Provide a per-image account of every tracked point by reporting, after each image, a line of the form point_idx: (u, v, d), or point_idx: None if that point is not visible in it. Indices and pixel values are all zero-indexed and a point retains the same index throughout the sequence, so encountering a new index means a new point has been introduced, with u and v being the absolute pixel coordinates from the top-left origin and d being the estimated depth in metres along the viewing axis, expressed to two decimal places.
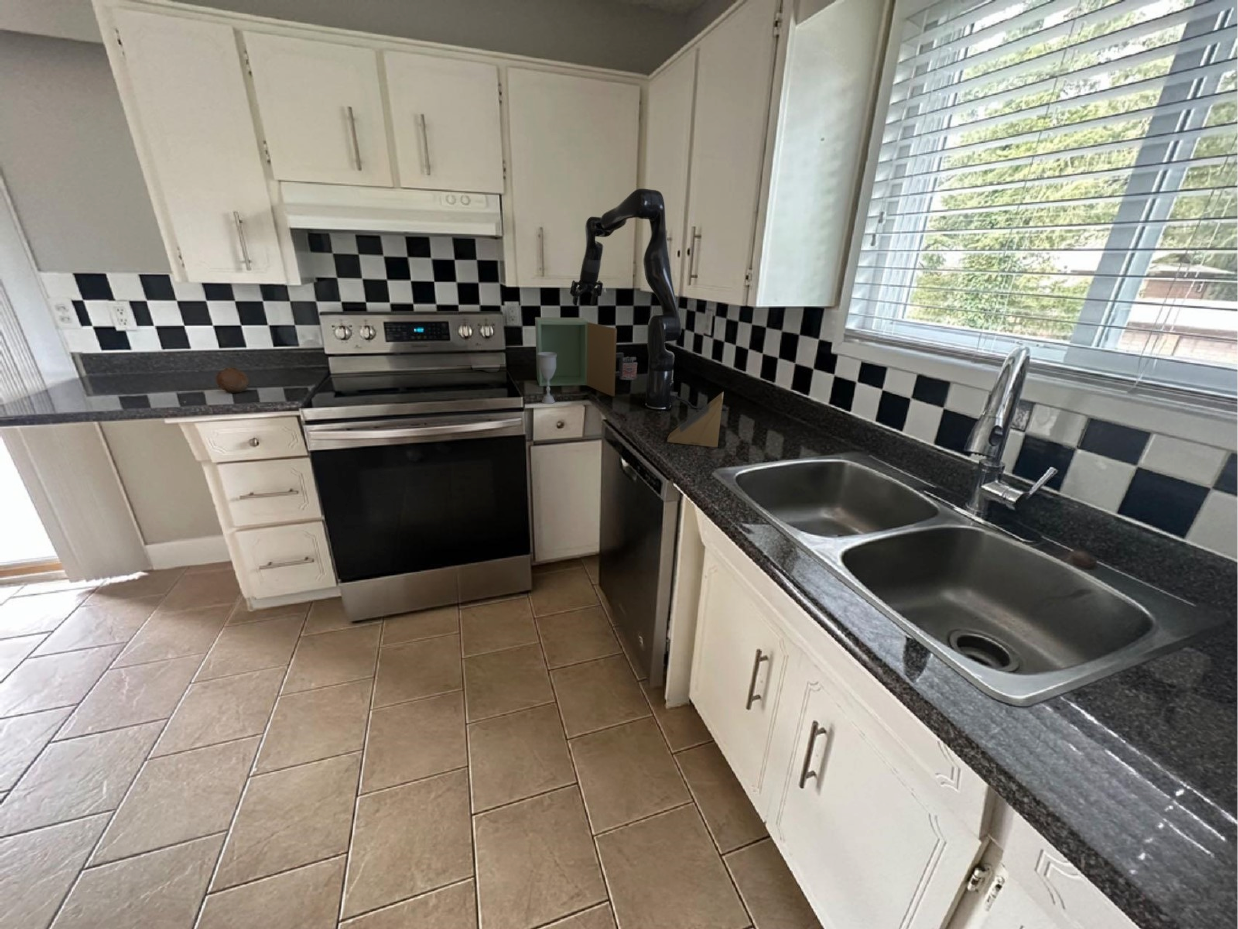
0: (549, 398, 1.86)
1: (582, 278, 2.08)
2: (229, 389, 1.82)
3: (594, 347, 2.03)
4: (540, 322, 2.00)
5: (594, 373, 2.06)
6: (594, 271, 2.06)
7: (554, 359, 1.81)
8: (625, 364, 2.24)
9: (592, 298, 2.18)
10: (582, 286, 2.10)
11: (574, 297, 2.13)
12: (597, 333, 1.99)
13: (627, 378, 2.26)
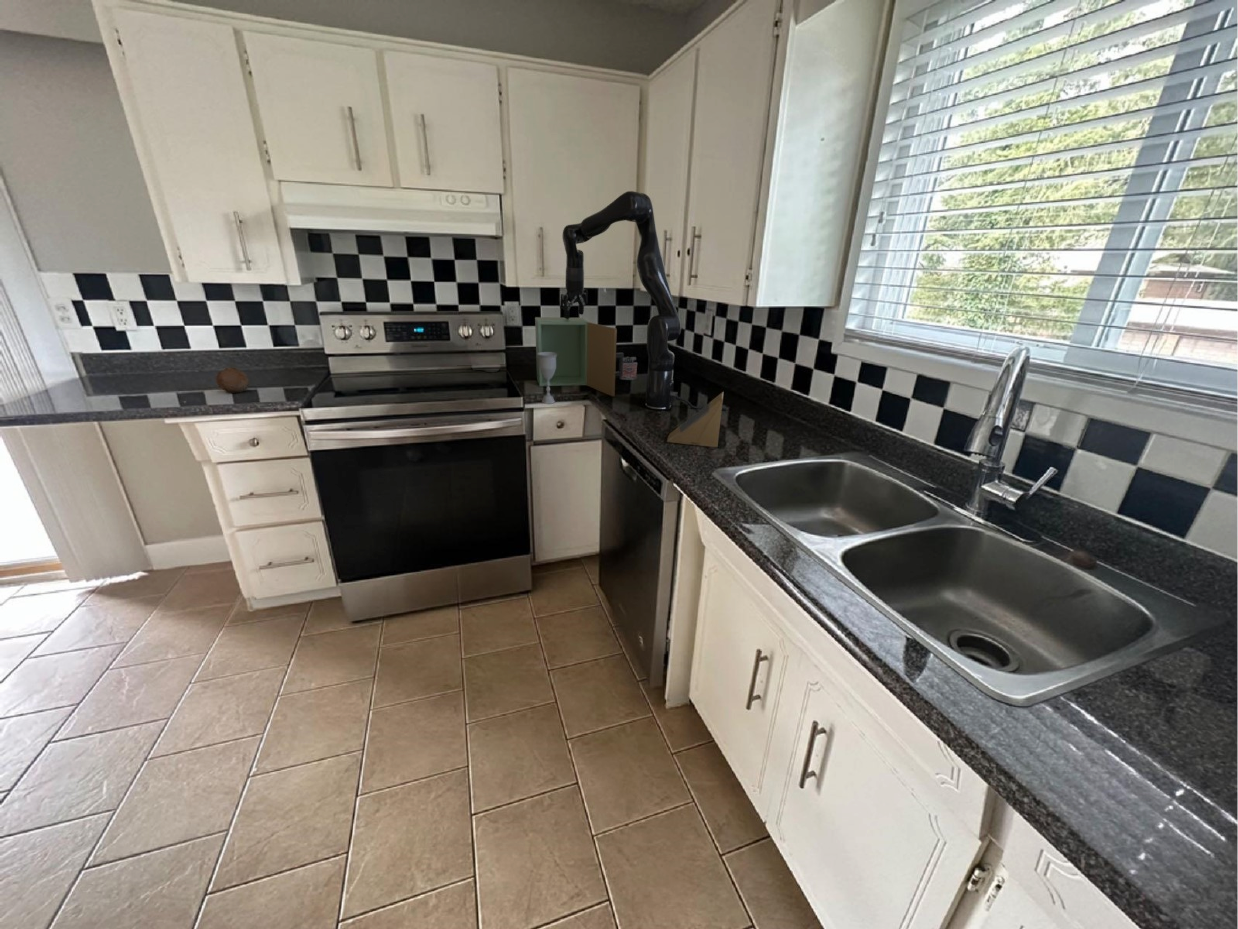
0: (549, 398, 1.86)
1: (570, 289, 2.04)
2: (229, 389, 1.82)
3: (594, 347, 2.03)
4: (540, 322, 2.00)
5: (594, 373, 2.06)
6: (581, 279, 2.02)
7: (554, 359, 1.81)
8: (625, 364, 2.24)
9: (580, 307, 2.14)
10: (571, 297, 2.06)
11: (565, 310, 2.08)
12: (597, 333, 1.99)
13: (627, 378, 2.26)
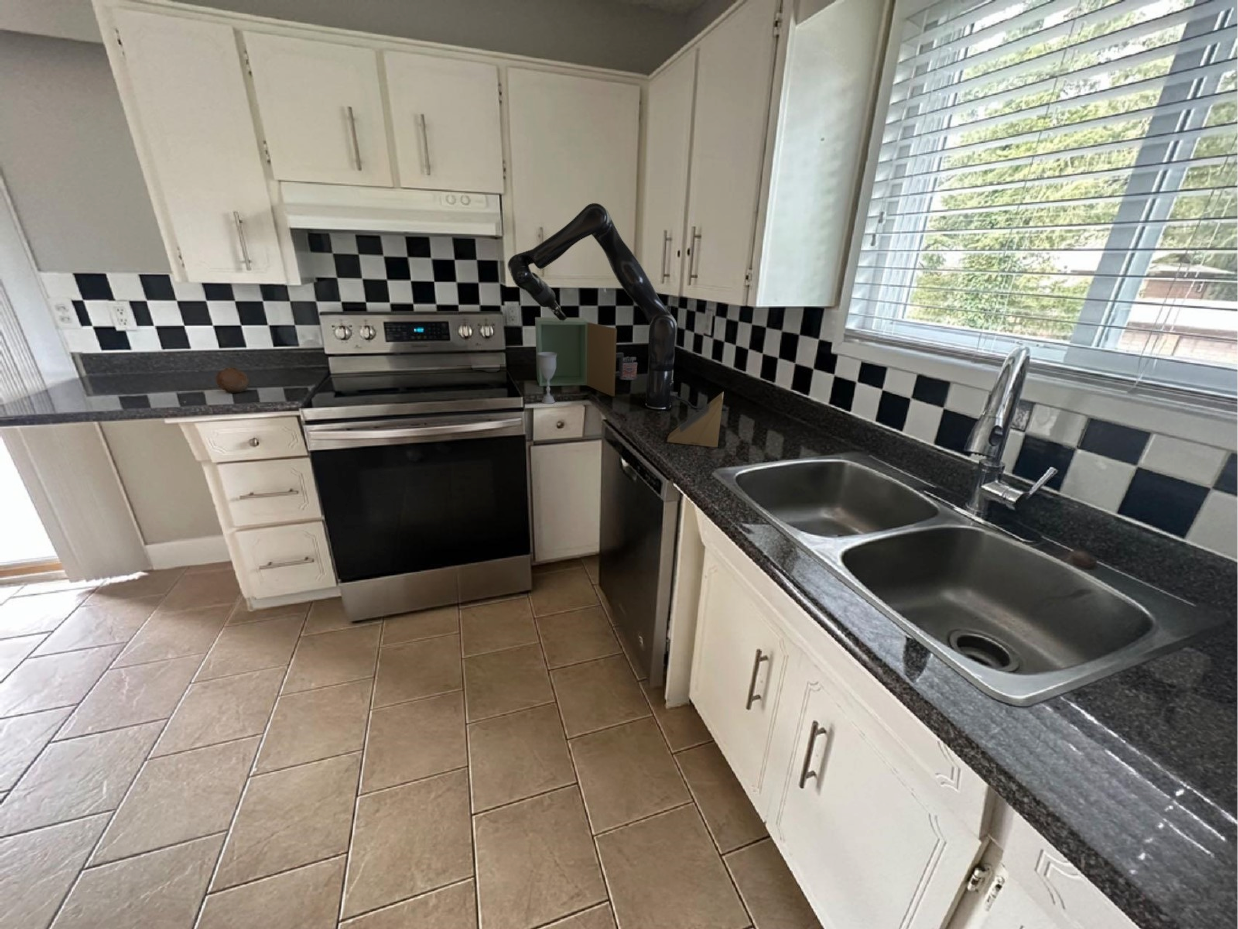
0: (549, 398, 1.86)
1: (552, 302, 1.93)
2: (229, 389, 1.82)
3: (594, 347, 2.03)
4: (540, 322, 2.00)
5: (594, 373, 2.06)
6: (549, 287, 1.90)
7: (554, 359, 1.81)
8: (625, 364, 2.24)
9: None
10: (556, 305, 1.97)
11: None
12: (597, 333, 1.99)
13: (627, 378, 2.26)
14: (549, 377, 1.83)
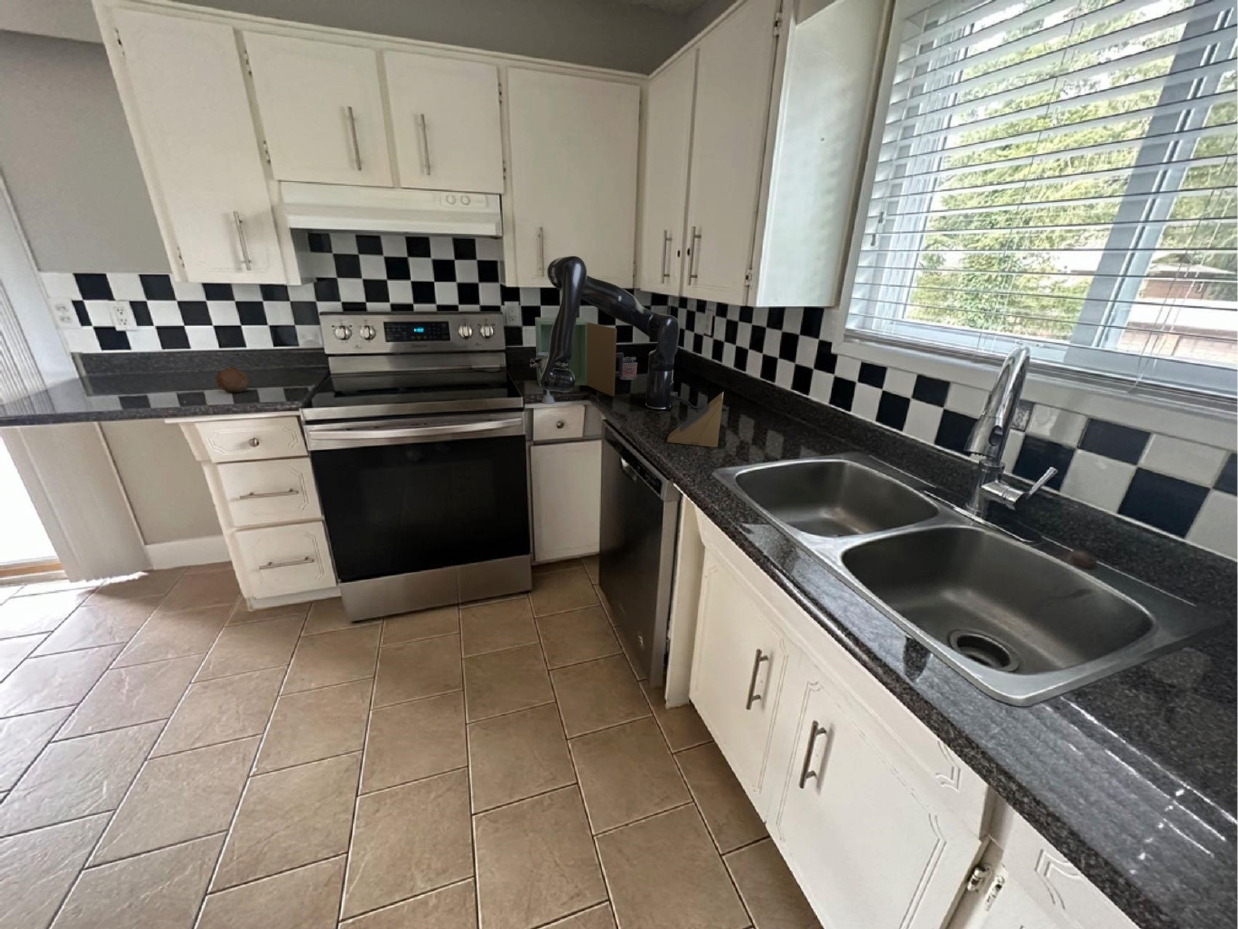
0: (549, 398, 1.86)
1: None
2: (229, 389, 1.82)
3: (594, 347, 2.03)
4: (540, 322, 2.00)
5: (594, 373, 2.06)
6: None
7: None
8: (625, 364, 2.24)
9: None
10: None
11: None
12: (597, 333, 1.99)
13: (627, 378, 2.26)
14: None
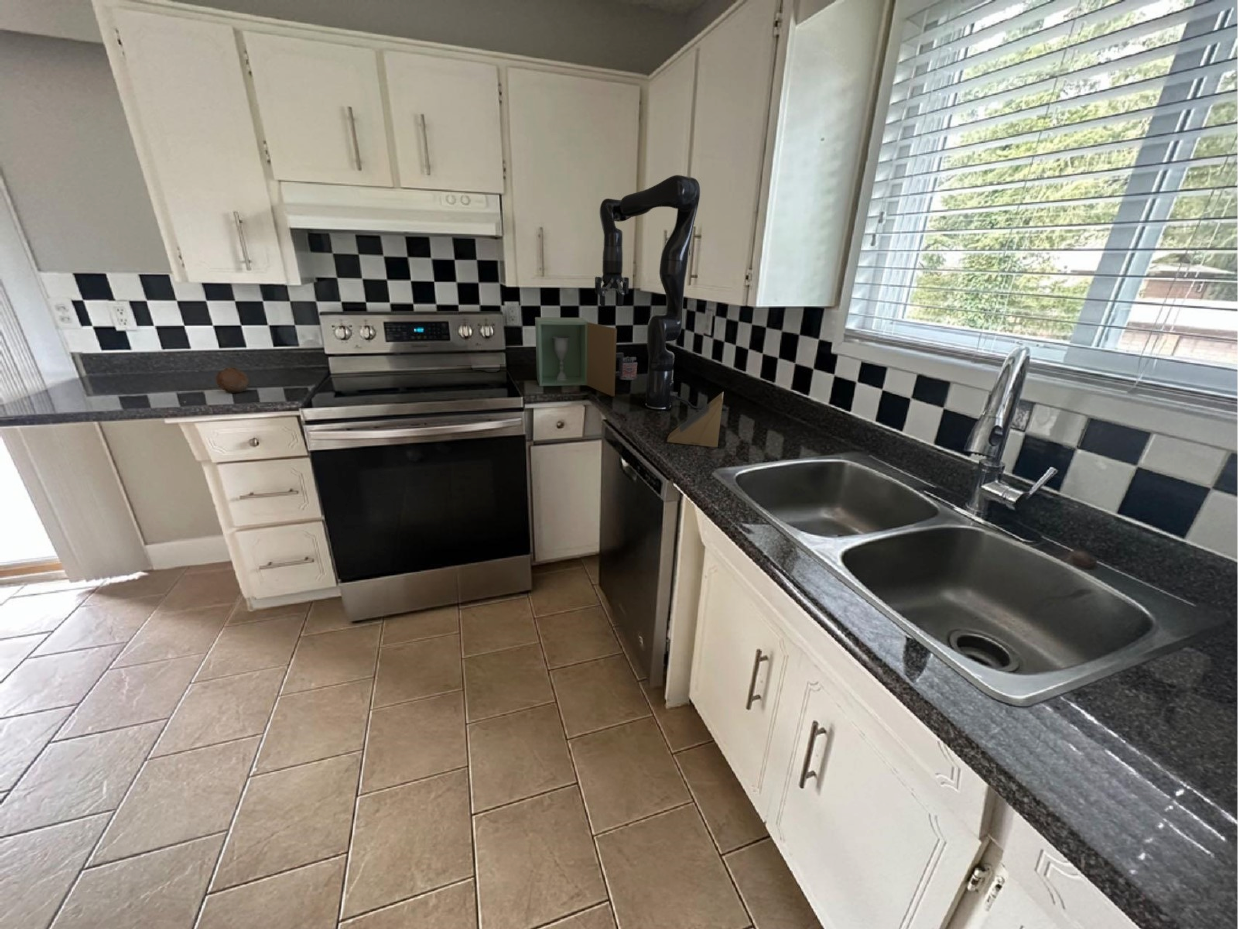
0: (562, 376, 2.16)
1: (605, 271, 1.85)
2: (229, 389, 1.82)
3: (594, 347, 2.03)
4: (540, 322, 2.00)
5: (594, 373, 2.06)
6: (617, 259, 1.83)
7: (567, 342, 2.10)
8: (625, 364, 2.24)
9: (619, 298, 1.93)
10: (607, 281, 1.86)
11: (601, 296, 1.88)
12: (597, 333, 1.99)
13: (627, 378, 2.26)
14: (562, 357, 2.13)
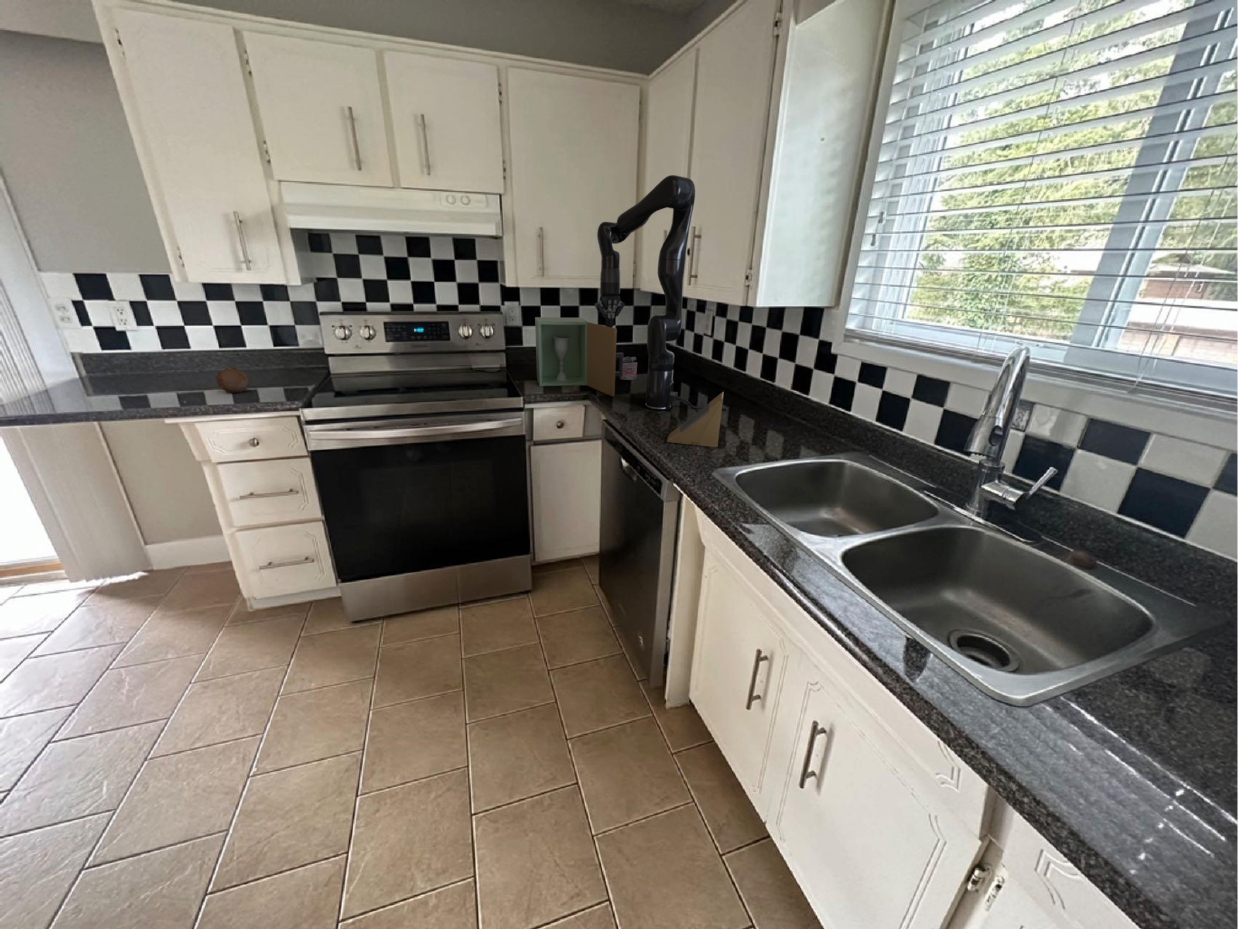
0: (562, 376, 2.16)
1: (603, 292, 1.87)
2: (229, 389, 1.82)
3: (594, 347, 2.03)
4: (540, 322, 2.00)
5: (594, 373, 2.06)
6: (615, 281, 1.85)
7: (567, 342, 2.10)
8: (625, 364, 2.24)
9: None
10: (606, 304, 1.90)
11: (606, 319, 1.93)
12: (597, 333, 1.99)
13: (627, 378, 2.26)
14: (562, 357, 2.13)
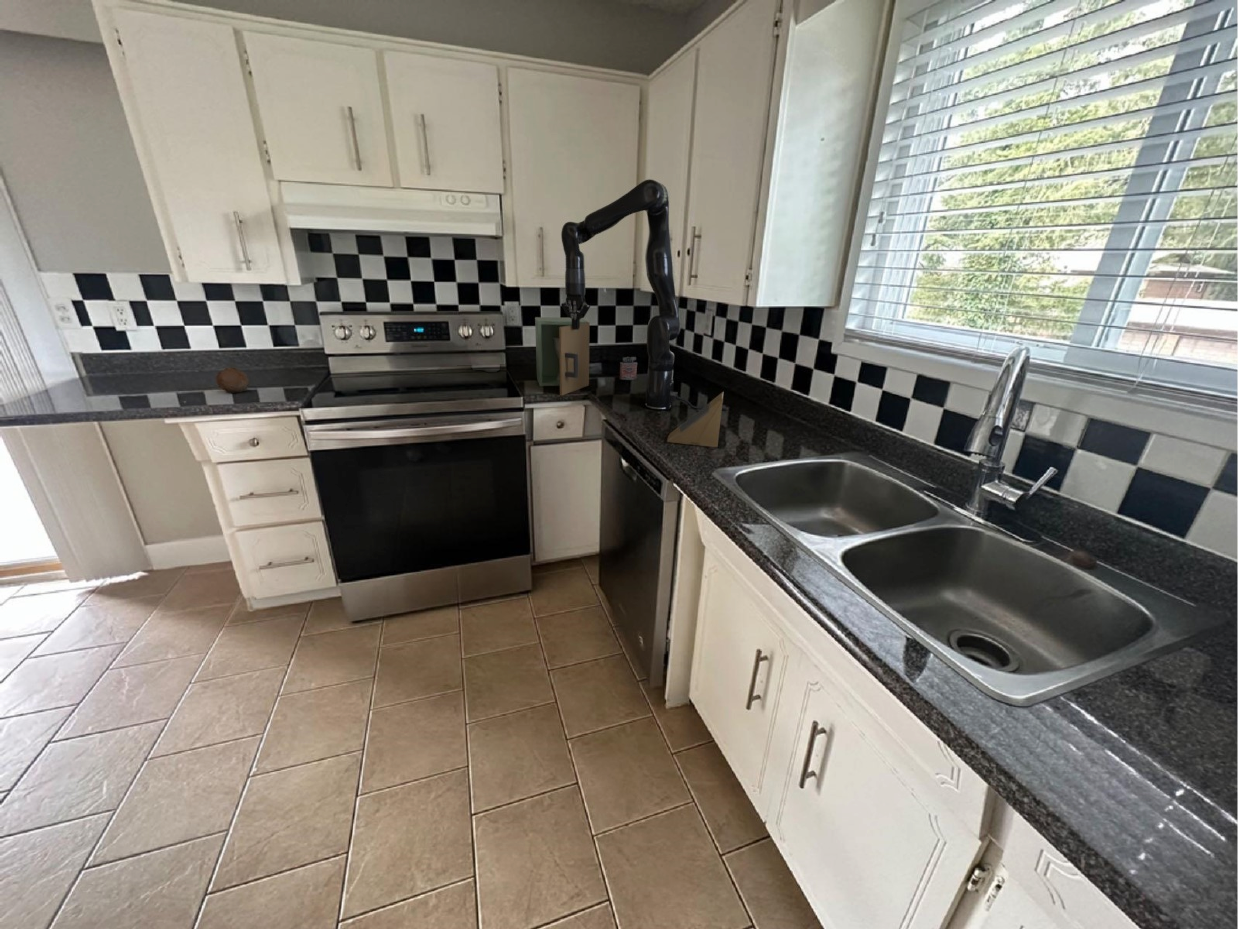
0: None
1: None
2: (229, 389, 1.82)
3: None
4: (540, 322, 2.00)
5: None
6: (568, 281, 1.84)
7: None
8: (625, 364, 2.24)
9: None
10: (568, 305, 1.90)
11: (572, 319, 1.92)
12: None
13: (627, 378, 2.26)
14: None
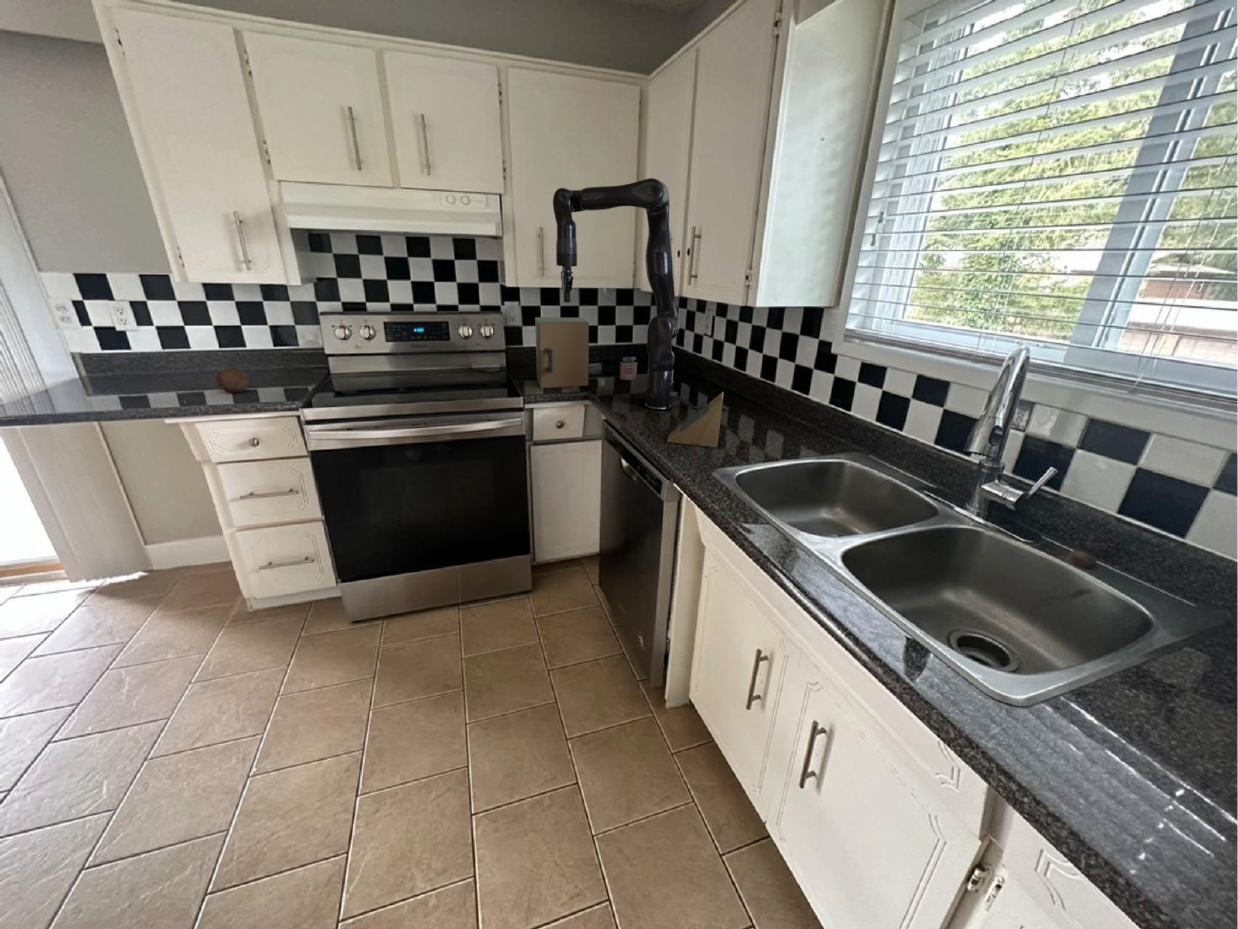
0: None
1: None
2: (229, 389, 1.82)
3: None
4: (540, 322, 2.00)
5: None
6: (556, 251, 1.79)
7: None
8: (625, 364, 2.24)
9: None
10: (562, 276, 1.85)
11: None
12: None
13: (627, 378, 2.26)
14: None
